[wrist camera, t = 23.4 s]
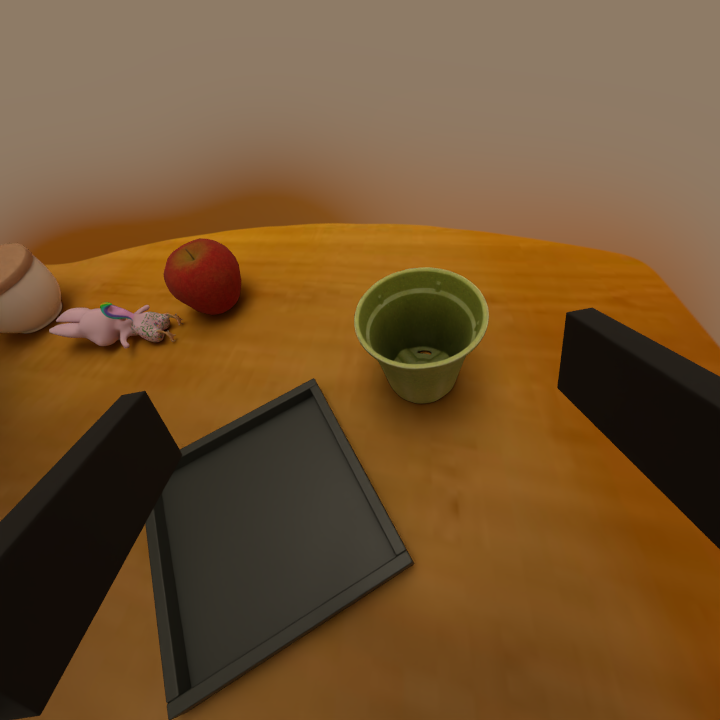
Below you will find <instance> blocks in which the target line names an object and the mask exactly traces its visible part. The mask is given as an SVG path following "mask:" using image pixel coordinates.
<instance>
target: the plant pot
mask: <svg viewBox="0 0 720 720" xmlns="http://www.w3.org/2000/svg"><path fill="white" fill-rule="evenodd" d="M488 319H489V314H488V306H487V303H486V300H485V298H484V296H483V295H482V293H481V292H480V290H479V289H478V288H477V287H476V286H475V285H474V284H473V283H472V282H470V281H469V280H468V279H466V278H464V277H463V276H461V275H458V274H456V273H454V272H451V271H448V270H443V269H437V268H412V269H407V270H404V271H400V272H396V273H393V274H391V275H389V276H386V277H385V278H383V279H381V280H379V281H378V282H376V283H375V284H374V285H373V286H372V287H371V288H370V289H369V290H368V291H367V292H366V293H365V294H364V295H363V297H362V298H361V299H360V301H359V303H358V306H357V309H356V312H355V317H354V325H355V331H356V334H357V337H358V339H359V341H360V343H361V345H362V346H363V347H364V349H365V350H366V351H367V352H368V353H369V354H370V355H371V356H373V357H374V358H375V359H377V360H378V362H379V364H380V365H381V367H382V369H383V371H384V373H385V375H386V377H387V379H388V381H389V383H390V385H391V387H392V389H393V390H394V391H395V392H396V393H397V394H398V395H399V396H400V397H402V398H403V399H405V400H407V401H410V402H413V403H431V402H434V401H437V400H438V399H440V398H441V397H443V396H444V395H446V394H447V393H448V392H450V390H451V389H452V388H453V386H454V384H455V381H456V379H457V376H458V374H459V371H460V368H461V366H462V364H463V361H464V359H465V357H466V355H468V354H469V353H470V352H471V351H472V350H473V349H475V347H476V346H477V345H478V344H479V343H480V341H481V340H482V338H483V336H484V334H485V332H486V329H487V325H488ZM419 351H429V352H431V353H432V354H431V355H429V354H423V353H417V352H419Z"/></svg>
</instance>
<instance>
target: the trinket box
mask: <svg viewBox="0 0 720 720" xmlns="http://www.w3.org/2000/svg"><path fill="white" fill-rule="evenodd" d="M61 310H62V302H61V290H60V287H59V284H58V282H57V280H56V279H55V277H54V276H53V275H52V273H51V272H50V271H49V270H48V269H47V268H46V267H45V266H44V265H43V264H42V263H41V262H40V261H39V260H38V259H37V258H36V257H35V256H33V255H32V253H31V252H30V251H29V250H28V249H27V248H26V247H25V246H23V245H21V244H15V243H9V244H3V245H0V333H24V334H27V333H32V332H35V331H38V330H40V329H42V328H44V327H45V326H47V325H48V324H50V323H51V322H52V321H53V320H54V319H55V318H56V317H57V316H58V315H59V313H60V312H61Z"/></svg>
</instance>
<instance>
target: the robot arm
mask: <svg viewBox="0 0 720 720" xmlns="http://www.w3.org/2000/svg"><path fill="white" fill-rule="evenodd" d="M557 388H558V389H559V390H560V391H561V392H562V393H563V394H564V395H565V396H566V397H567V398H568V399H569V400H570V401H571V402H572V403H573V404H574V405H575V406H576V407H577V408H578V409H579V410H580V411H581V412H582V413H583V414H584V415H585V416H586V417H587V418H588V419H589V420H590V421H591V422H592V423H593V424H594V425H595V426H596V427H597V428H598V429H599V430H600V431H601V432H602V433H603V434H604V435H605V436H606V437H607V438H608V439H609V440H610V441H611V442H612V443H613V444H614V445H615V446H616V447H617V448H618V449H619V450H620V451H621V452H622V453H623V454H624V455H625V456H626V457H627V458H628V459H629V460H630V461H631V462H632V463H633V464H634V465H635V466H636V467H637V468H638V469H639V470H640V471H641V472H642V473H643V474H644V475H645V476H646V477H647V478H648V479H649V480H650V481H651V482H652V483H653V484H654V485H655V486H656V487H657V488H659V489H660V490H661V491H662V492H663V493H664V494H665V495H666V496H667V497H668V498H669V499H670V500H671V501H672V502H673V503H674V504H675V505H676V506H677V507H678V508H679V509H680V510H681V511H682V512H683V513H684V514H685V515H686V516H687V517H688V518H689V519H690V520H691V521H692V522H693V523H694V524H695V525H696V526H697V527H698V528H699V529H700V530H701V531H702V532H703V533H704V534H705V535H706V536H707V537H708V538H709V539H710V540H711V541H712V542H713V543H714V544H715V545H716V546H717V547H718V548H719V549H720V377H719V376H718V375H716V374H714V373H712V372H710V371H708V370H707V369H705V368H703V367H701V366H699V365H697V364H695V363H694V362H692V361H690V360H688V359H686V358H684V357H683V356H681V355H679V354H677V353H675V352H673V351H671V350H670V349H668V348H666V347H664V346H662V345H660V344H659V343H657V342H655V341H653V340H651V339H649V338H647V337H646V336H644V335H642V334H640V333H638V332H636V331H635V330H633V329H631V328H629V327H627V326H625V325H623V324H622V323H620V322H618V321H616V320H614V319H612V318H610V317H609V316H607V315H605V314H603V313H601V312H599V311H598V310H596V309H594V308H588V309H583V310H577V311H572V312H567V313H566V321H565V329H564V337H563V346H562V354H561V362H560V371H559V379H558V387H557ZM182 455H183V454H182V453H181V451H180V449H179V448H178V446H177V444H176V443H175V441H174V439H173V437H172V436H171V434H170V432H169V431H168V429H167V427H166V425H165V424H164V422H163V420H162V419H161V417H160V415H159V414H158V412H157V410H156V408H155V407H154V405H153V403H152V402H151V400H150V398H149V396H148V395H147V393H146V391H142V392H137V393H131V394H126V395H122V396H121V397H120V398H119V399H118V400H117V401H116V402H115V403H114V404H113V405H112V406H111V407H110V408H109V409H108V410H107V411H106V412H105V413H104V414H103V415H102V416H101V418H100V419H99V420H98V421H97V422H96V423H95V424H94V425H93V426H92V427H91V428H90V429H89V430H88V431H87V432H86V433H85V434H84V435H83V436H82V437H81V438H80V439H79V440H78V441H77V442H76V444H75V445H74V446H73V447H72V448H71V449H70V450H69V451H68V452H67V453H66V454H65V455H64V456H63V457H62V458H61V459H60V460H59V461H58V462H57V463H56V464H55V465H54V466H53V467H52V469H51V470H50V471H49V472H48V473H47V474H46V475H45V476H44V477H43V478H42V479H41V480H40V481H39V482H38V483H37V484H36V485H35V486H34V487H33V488H32V489H31V490H30V491H29V492H28V494H27V495H26V496H25V497H24V498H23V499H22V500H21V501H20V502H19V503H18V504H17V505H16V506H15V507H14V508H13V509H12V510H11V511H10V512H9V513H8V514H7V515H6V516H5V517H4V519H3V520H2V521H1V522H0V720H13V719H20V718H27V717H33V716H40V715H41V713H42V711H43V710H44V708H45V706H46V704H47V702H48V700H49V699H50V697H51V695H52V693H53V691H54V689H55V688H56V686H57V684H58V682H59V680H60V678H61V677H62V675H63V673H64V671H65V669H66V667H67V666H68V664H69V662H70V660H71V658H72V657H73V655H74V653H75V651H76V649H77V647H78V646H79V644H80V642H81V640H82V638H83V636H84V635H85V633H86V631H87V629H88V627H89V625H90V624H91V622H92V620H93V618H94V616H95V614H96V613H97V611H98V609H99V607H100V605H101V603H102V602H103V600H104V598H105V596H106V594H107V592H108V591H109V589H110V587H111V585H112V583H113V581H114V580H115V578H116V576H117V574H118V572H119V570H120V569H121V567H122V565H123V563H124V561H125V559H126V558H127V556H128V554H129V552H130V550H131V548H132V547H133V545H134V543H135V541H136V539H137V537H138V536H139V534H140V532H141V530H142V528H143V526H144V525H145V523H146V521H147V519H148V517H149V516H150V514H151V512H152V510H153V508H154V506H155V505H156V503H157V501H158V499H159V497H160V495H161V494H162V492H163V490H164V488H165V486H166V484H167V483H168V481H169V479H170V477H171V475H172V473H173V472H174V470H175V468H176V466H177V464H178V462H179V461H180V459H181V457H182Z"/></svg>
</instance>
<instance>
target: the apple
mask: <svg viewBox="0 0 720 720" xmlns="http://www.w3.org/2000/svg"><path fill="white" fill-rule="evenodd" d="M164 280H165V282H166V285H167V287H168V289H169V291H170V292H171V293H172V294H173V295H174V297H175V298H176V299H178V300H180V301H181V302H183V303H184V304H186V305H188V306H190V307H192V308H193V309H195V310H197V311H199V312H202V313H205V314H211V315H215V314H222V313H224V312H226V311H228V310H229V309H231V308H232V307H233V306H234V305H235V304H236V303H237V301H238V299H239V296H240V290H241V276H240V270H239V264H238V262H237V260H236V258H235V256H234V255H233V254H232V253H231V251H230V250H229V249H228V248H227V247H225V246H224V245H222V244H220V243H218V242H216V241H214V240H209V239H196V240H194V241H191V242H189V243H186V244H184V245H182V246H181V247H179V248H178V249H176V250H175V251H173V252H172V254H171V255H170V256H169V258H168V259H167V263H166V267H165V270H164Z"/></svg>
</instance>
